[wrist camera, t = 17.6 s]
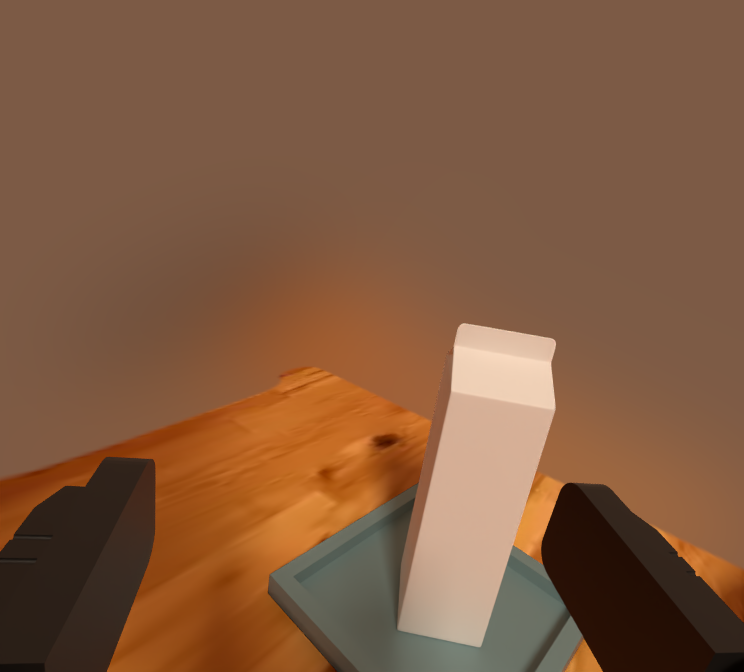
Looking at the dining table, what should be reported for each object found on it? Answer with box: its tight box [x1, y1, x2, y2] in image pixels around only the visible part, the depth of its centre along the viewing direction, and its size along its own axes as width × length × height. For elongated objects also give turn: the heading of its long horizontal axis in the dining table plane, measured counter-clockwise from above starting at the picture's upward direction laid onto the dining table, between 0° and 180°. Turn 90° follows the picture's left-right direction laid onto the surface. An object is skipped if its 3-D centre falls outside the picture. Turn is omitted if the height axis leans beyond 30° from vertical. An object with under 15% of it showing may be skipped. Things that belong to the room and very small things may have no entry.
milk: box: [397, 323, 556, 647], centre depth 32 cm, size 6×6×22 cm
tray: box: [268, 483, 584, 672], centre depth 35 cm, size 18×18×2 cm
